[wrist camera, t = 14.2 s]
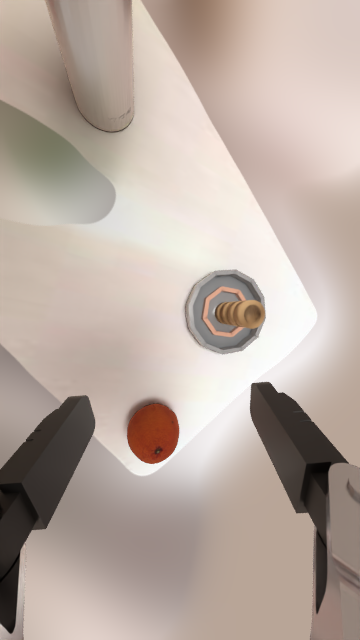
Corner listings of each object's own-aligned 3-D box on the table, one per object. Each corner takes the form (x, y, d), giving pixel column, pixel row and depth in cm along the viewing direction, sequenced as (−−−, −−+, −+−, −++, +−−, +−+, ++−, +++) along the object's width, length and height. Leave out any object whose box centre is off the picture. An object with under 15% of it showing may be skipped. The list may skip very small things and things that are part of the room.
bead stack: (210, 310, 35) (234, 311, 26) (227, 297, 36) (255, 294, 27) (222, 328, 36) (249, 334, 27) (238, 315, 37) (269, 317, 28)
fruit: (182, 422, 36) (194, 453, 28) (144, 449, 34) (145, 490, 27) (161, 387, 34) (168, 410, 27) (120, 413, 33) (114, 445, 25)
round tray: (169, 303, 34) (172, 302, 31) (231, 257, 36) (238, 253, 34) (214, 365, 37) (220, 369, 34) (269, 319, 39) (277, 320, 37)
